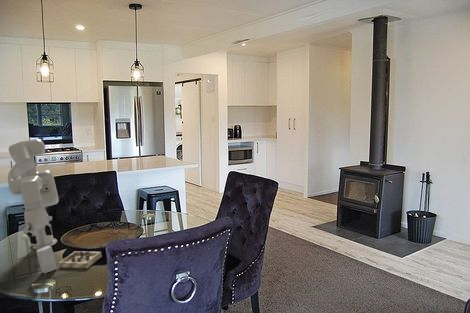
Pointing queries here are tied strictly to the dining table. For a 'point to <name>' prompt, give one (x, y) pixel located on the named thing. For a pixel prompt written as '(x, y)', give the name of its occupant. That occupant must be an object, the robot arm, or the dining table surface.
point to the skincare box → (46, 259)
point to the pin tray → (80, 259)
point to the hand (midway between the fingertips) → (41, 239)
